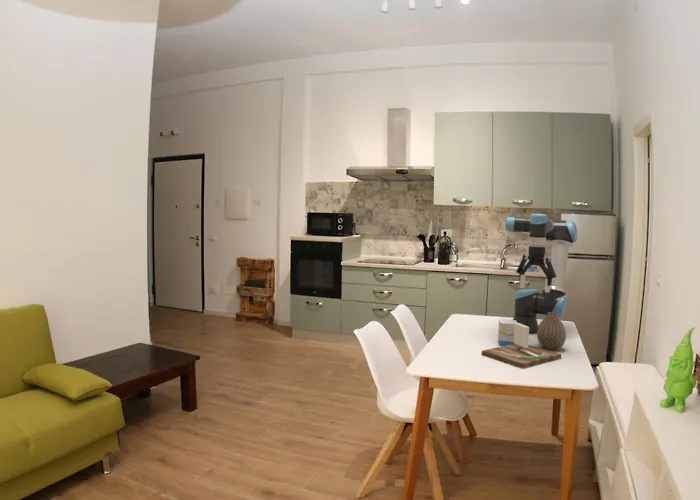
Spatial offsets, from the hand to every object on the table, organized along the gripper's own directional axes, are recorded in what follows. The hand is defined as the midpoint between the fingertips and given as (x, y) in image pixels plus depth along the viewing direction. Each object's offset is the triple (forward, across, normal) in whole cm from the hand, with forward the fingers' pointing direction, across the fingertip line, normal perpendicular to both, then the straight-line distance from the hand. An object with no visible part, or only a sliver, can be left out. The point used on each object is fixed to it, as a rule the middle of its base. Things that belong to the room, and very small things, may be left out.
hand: (534, 290), depth 232 cm
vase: (+29, +5, +9) cm, 31 cm away
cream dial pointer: (+26, +8, -15) cm, 31 cm away
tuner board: (+29, +6, -16) cm, 33 cm away
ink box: (+29, -11, -4) cm, 31 cm away
